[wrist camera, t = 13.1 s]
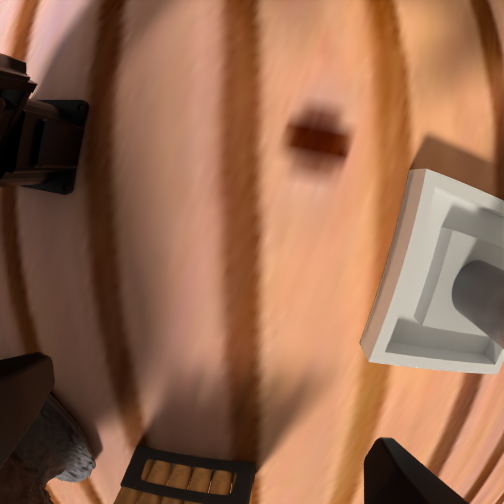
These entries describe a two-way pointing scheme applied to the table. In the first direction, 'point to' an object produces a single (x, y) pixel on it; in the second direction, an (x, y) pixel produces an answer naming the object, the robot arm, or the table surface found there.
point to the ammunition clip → (184, 479)
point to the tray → (415, 273)
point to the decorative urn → (45, 457)
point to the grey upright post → (464, 287)
